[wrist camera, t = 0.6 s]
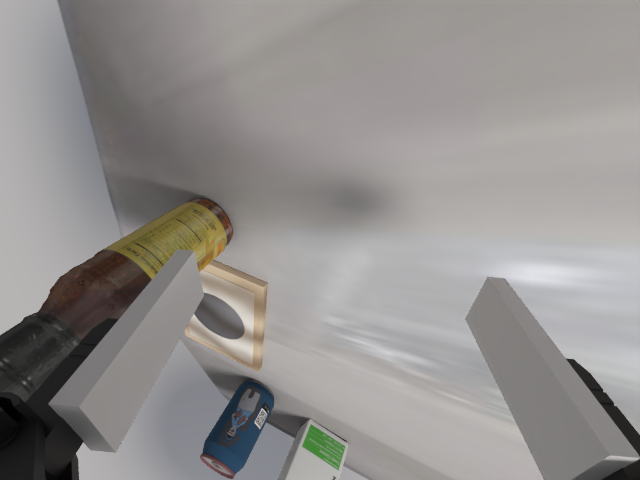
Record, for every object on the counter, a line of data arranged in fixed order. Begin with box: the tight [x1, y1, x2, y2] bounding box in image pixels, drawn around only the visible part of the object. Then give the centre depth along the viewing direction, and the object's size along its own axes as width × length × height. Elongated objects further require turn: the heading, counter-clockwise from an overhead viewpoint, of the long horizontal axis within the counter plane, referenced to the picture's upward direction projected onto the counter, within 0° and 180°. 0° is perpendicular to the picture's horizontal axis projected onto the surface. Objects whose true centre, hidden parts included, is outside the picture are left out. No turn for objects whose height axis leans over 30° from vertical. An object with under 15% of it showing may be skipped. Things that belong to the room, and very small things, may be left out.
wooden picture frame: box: [185, 260, 267, 372], centre depth 39 cm, size 20×14×1 cm
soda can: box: [200, 380, 274, 479], centre depth 45 cm, size 7×7×12 cm
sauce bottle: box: [0, 199, 233, 402], centre depth 22 cm, size 7×6×20 cm
